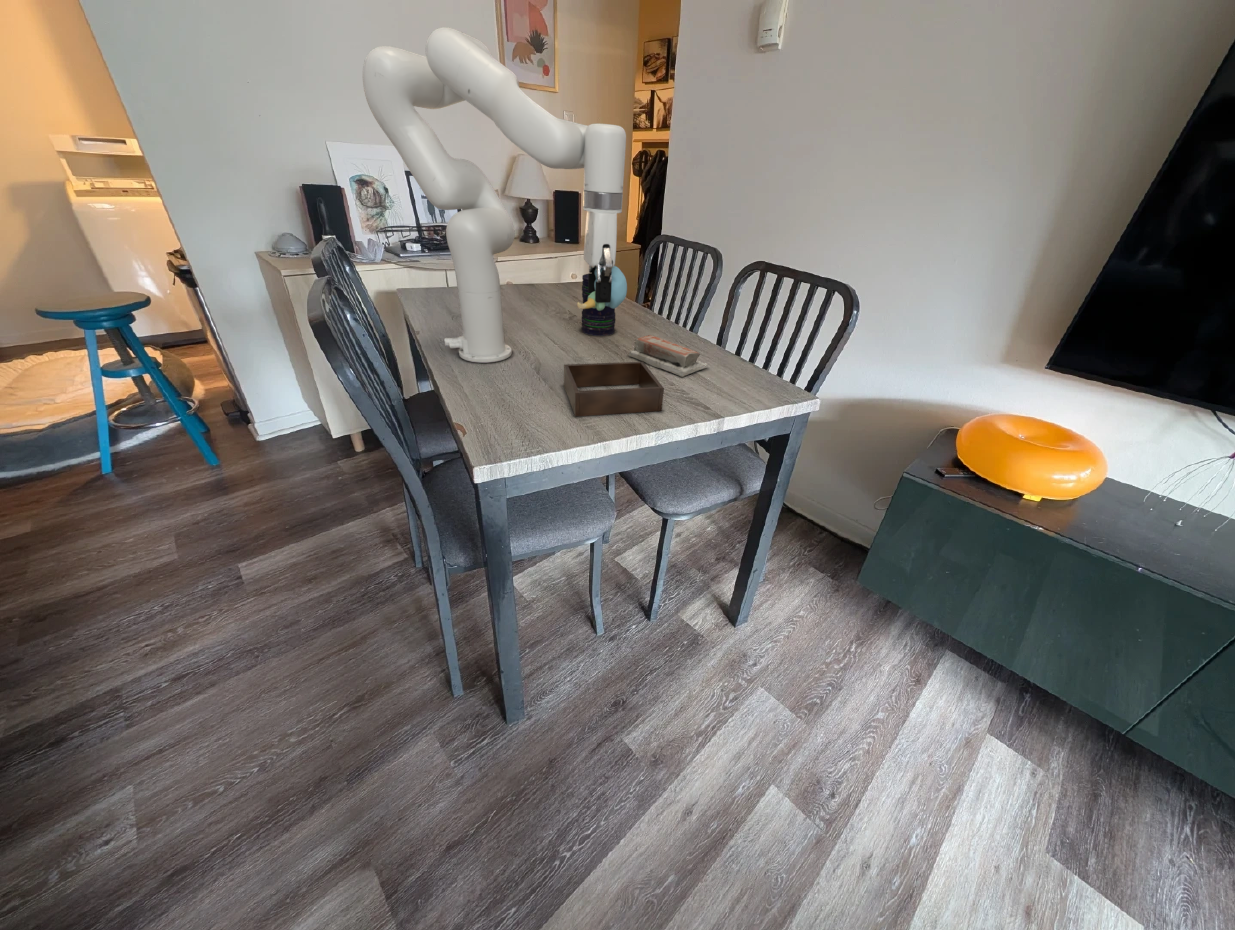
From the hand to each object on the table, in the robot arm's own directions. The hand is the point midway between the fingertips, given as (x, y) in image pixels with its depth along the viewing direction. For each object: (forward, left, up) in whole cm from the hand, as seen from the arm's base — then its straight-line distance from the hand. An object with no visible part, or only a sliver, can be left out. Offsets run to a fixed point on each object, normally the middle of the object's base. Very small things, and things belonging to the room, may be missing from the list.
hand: (598, 296), depth 101 cm
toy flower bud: (0, -1, -2) cm, 3 cm away
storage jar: (+7, +32, -18) cm, 37 cm away
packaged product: (+19, +5, -18) cm, 27 cm away
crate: (0, -14, -17) cm, 22 cm away
